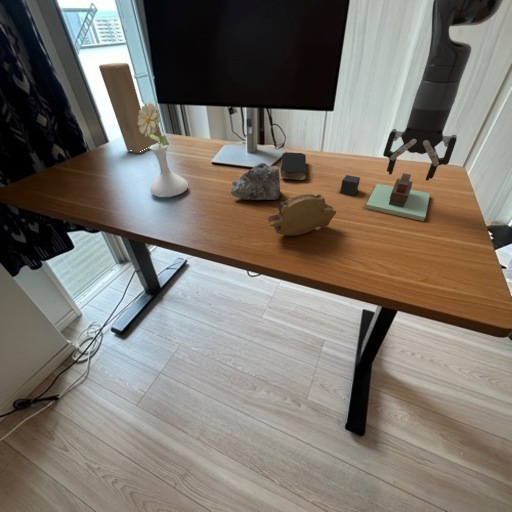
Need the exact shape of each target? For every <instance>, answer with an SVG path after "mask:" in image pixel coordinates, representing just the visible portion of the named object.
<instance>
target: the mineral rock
mask: <svg viewBox="0 0 512 512" xmlns="http://www.w3.org/2000/svg"><path fill="white" fill-rule="evenodd" d="M280 180H281V179H280V170H279V167H278V166H277V165H268V164H267V163H265V162H260V163H258V164H256V165H254V166H253V167H252V168H251V169H250V170H248V171H246V172H243V174H242V175H241V176H240V177H239V178H238V179H235V180H234V181H233V182H232V183H231V184H232V189H231V191H230V193H231V195H232V196H233V197H234V198H238V199H242V200H248V201H249V200H253V201H254V200H255V201H260V200H262V201H263V200H265V201H266V200H271V201H272V200H274V201H275V200H279V199H280V197H281V193H282V192H281V186H280V183H281V182H280Z"/></svg>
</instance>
